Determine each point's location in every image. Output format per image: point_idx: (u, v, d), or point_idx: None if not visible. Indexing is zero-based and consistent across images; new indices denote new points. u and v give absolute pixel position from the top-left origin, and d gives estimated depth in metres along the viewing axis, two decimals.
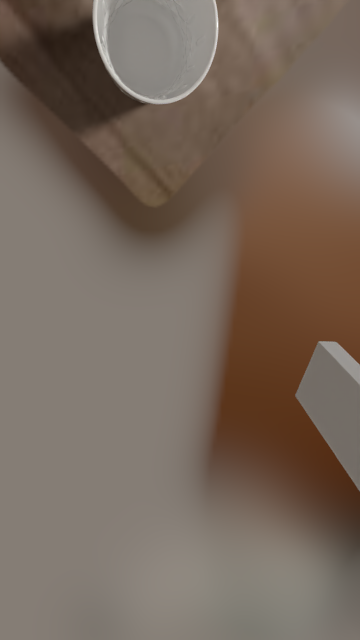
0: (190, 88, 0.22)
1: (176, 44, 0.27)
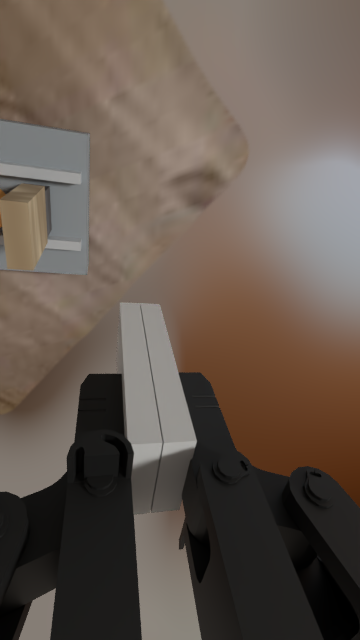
0: None
1: None
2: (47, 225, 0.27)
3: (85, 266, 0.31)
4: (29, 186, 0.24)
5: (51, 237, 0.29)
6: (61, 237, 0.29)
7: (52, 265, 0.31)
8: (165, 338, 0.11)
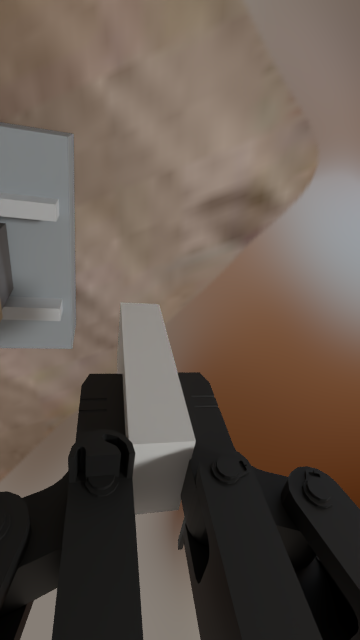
0: None
1: None
2: (1, 290, 0.16)
3: (69, 337, 0.20)
4: None
5: (13, 301, 0.18)
6: (29, 300, 0.18)
7: (17, 337, 0.20)
8: (164, 338, 0.11)
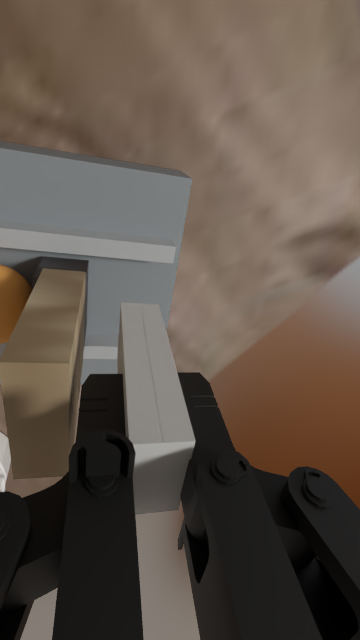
0: None
1: None
2: (84, 331, 0.15)
3: None
4: (59, 278, 0.12)
5: (112, 339, 0.17)
6: None
7: None
8: (164, 338, 0.11)
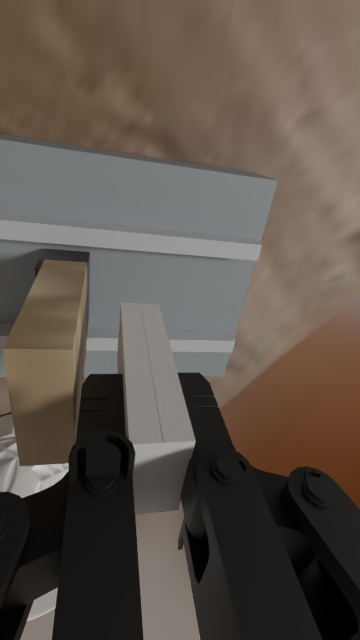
0: (46, 610, 0.19)
1: None
2: (86, 322, 0.15)
3: (224, 365, 0.21)
4: (60, 269, 0.12)
5: (190, 333, 0.18)
6: (203, 332, 0.19)
7: (179, 366, 0.20)
8: (164, 338, 0.11)
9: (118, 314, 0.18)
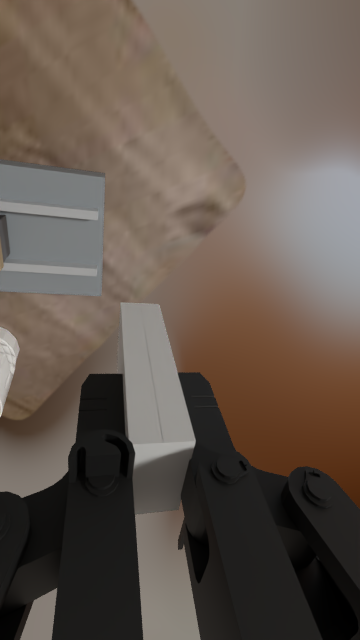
0: None
1: None
2: (3, 251, 0.29)
3: (100, 288, 0.35)
4: None
5: (71, 264, 0.33)
6: (79, 264, 0.33)
7: (70, 288, 0.34)
8: (164, 338, 0.11)
9: (27, 252, 0.32)
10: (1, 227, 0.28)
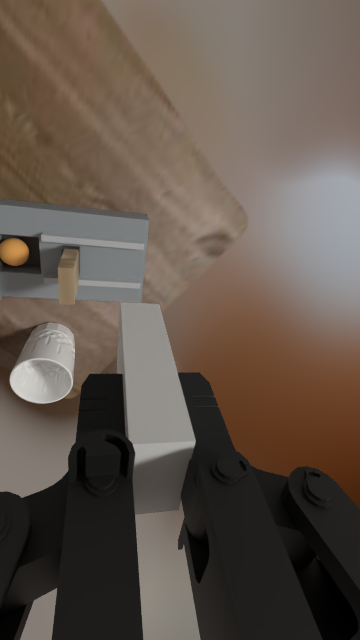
0: (62, 396, 0.45)
1: None
2: (78, 272, 0.42)
3: (140, 297, 0.47)
4: (69, 251, 0.39)
5: (122, 280, 0.45)
6: (127, 280, 0.45)
7: (119, 296, 0.47)
8: (164, 338, 0.11)
9: (91, 271, 0.44)
10: (78, 256, 0.41)
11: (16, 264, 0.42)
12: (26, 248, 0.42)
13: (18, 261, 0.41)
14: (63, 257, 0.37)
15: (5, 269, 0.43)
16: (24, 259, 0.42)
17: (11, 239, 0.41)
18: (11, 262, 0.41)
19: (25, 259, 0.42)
